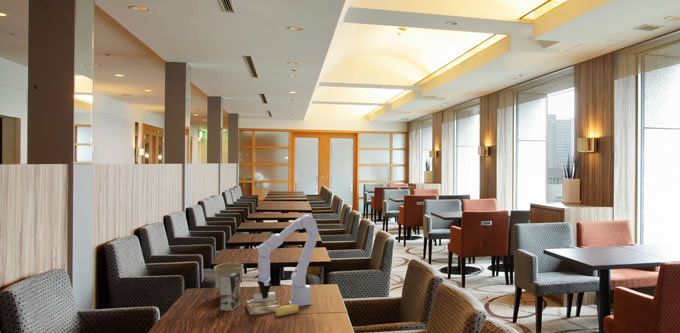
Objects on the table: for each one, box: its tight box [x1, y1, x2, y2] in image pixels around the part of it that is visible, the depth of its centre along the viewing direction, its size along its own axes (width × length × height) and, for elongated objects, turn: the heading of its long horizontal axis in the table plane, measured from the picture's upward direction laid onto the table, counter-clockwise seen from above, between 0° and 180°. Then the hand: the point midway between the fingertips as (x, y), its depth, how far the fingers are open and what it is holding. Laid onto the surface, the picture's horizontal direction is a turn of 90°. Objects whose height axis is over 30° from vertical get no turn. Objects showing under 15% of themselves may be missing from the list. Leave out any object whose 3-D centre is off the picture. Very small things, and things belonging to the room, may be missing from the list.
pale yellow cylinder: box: [274, 304, 300, 317], centre depth 208 cm, size 10×4×4 cm, turn 124°
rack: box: [245, 299, 282, 315], centre depth 216 cm, size 14×14×3 cm
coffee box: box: [220, 272, 241, 312], centre depth 217 cm, size 9×6×16 cm
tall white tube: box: [253, 291, 276, 303], centre depth 219 cm, size 10×4×4 cm, turn 109°
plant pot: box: [213, 262, 244, 294], centre depth 236 cm, size 15×15×16 cm
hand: (264, 296), depth 219 cm, fingers closed on tall white tube, 4 cm apart
